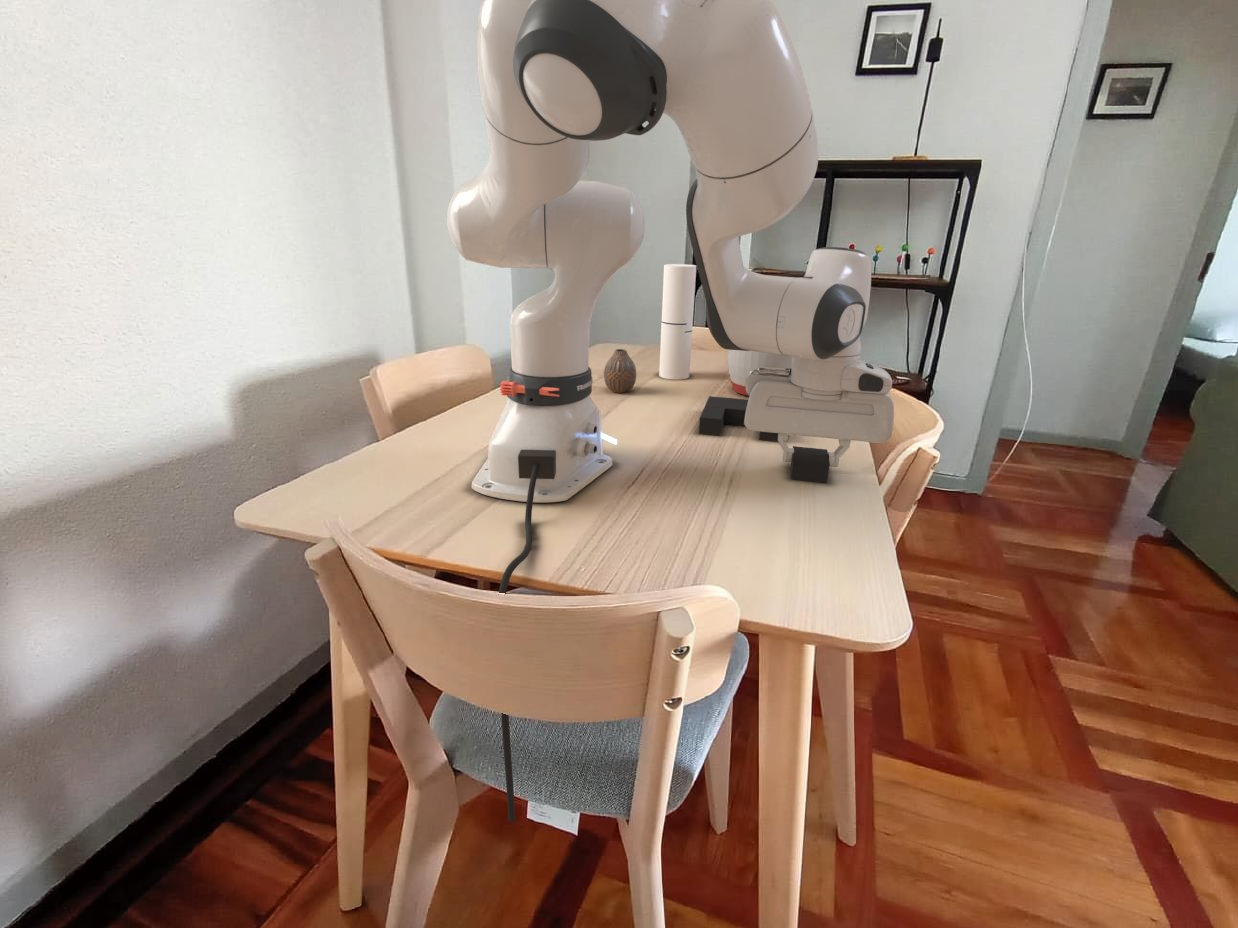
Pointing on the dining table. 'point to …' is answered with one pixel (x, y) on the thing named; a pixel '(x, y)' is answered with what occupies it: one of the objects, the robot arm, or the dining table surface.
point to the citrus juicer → (752, 365)
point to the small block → (810, 464)
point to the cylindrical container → (677, 320)
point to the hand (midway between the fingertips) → (809, 463)
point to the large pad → (726, 416)
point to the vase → (620, 372)
